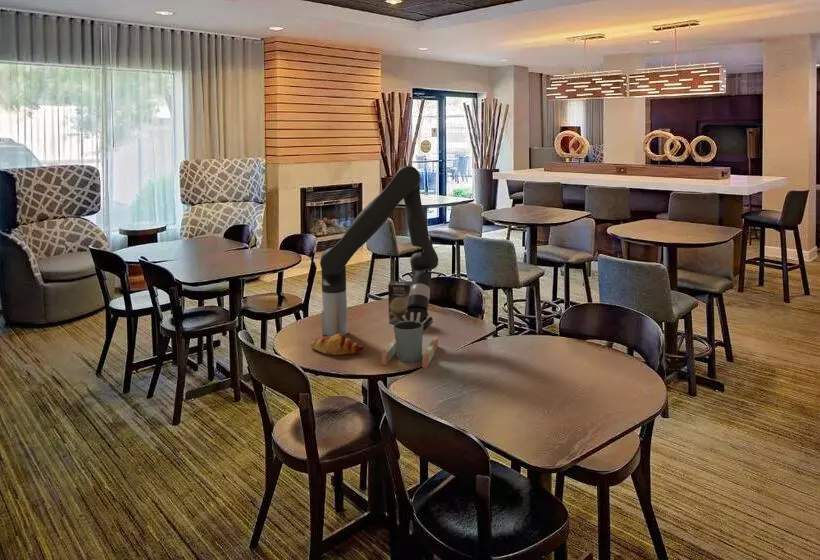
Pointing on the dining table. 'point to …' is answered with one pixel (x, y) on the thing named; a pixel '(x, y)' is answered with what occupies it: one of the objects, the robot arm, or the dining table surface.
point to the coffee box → (398, 299)
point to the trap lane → (425, 359)
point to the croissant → (336, 345)
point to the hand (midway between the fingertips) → (412, 341)
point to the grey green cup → (409, 340)
